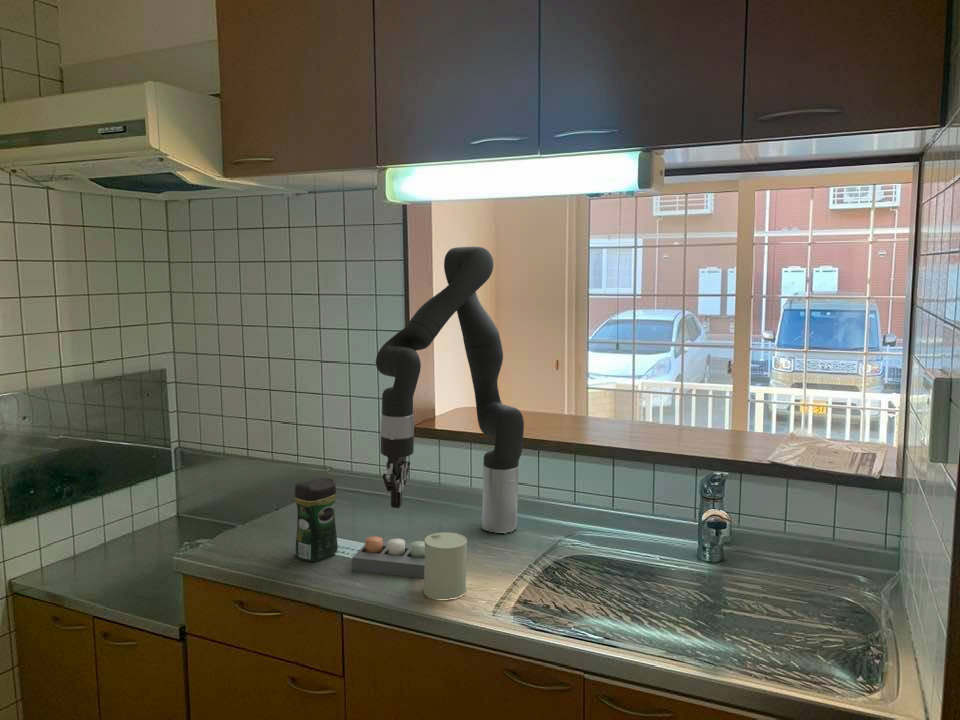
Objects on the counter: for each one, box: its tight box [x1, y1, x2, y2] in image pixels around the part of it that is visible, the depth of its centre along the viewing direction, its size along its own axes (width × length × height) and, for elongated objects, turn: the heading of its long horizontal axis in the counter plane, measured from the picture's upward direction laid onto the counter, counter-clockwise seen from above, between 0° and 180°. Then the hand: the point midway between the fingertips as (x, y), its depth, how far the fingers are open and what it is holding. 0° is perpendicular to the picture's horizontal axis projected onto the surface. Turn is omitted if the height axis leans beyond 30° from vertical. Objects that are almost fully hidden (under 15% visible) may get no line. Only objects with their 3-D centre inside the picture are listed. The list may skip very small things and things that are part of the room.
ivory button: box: [388, 538, 406, 556], centre depth 172 cm, size 4×4×3 cm
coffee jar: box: [294, 475, 339, 562], centre depth 175 cm, size 10×8×19 cm
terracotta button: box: [364, 536, 384, 554], centre depth 173 cm, size 4×4×3 cm
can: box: [423, 531, 468, 600], centre depth 158 cm, size 9×9×12 cm
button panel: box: [351, 539, 425, 579], centre depth 172 cm, size 12×17×3 cm
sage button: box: [410, 540, 425, 559], centre depth 171 cm, size 4×4×3 cm
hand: (396, 506), depth 170 cm, fingers closed
